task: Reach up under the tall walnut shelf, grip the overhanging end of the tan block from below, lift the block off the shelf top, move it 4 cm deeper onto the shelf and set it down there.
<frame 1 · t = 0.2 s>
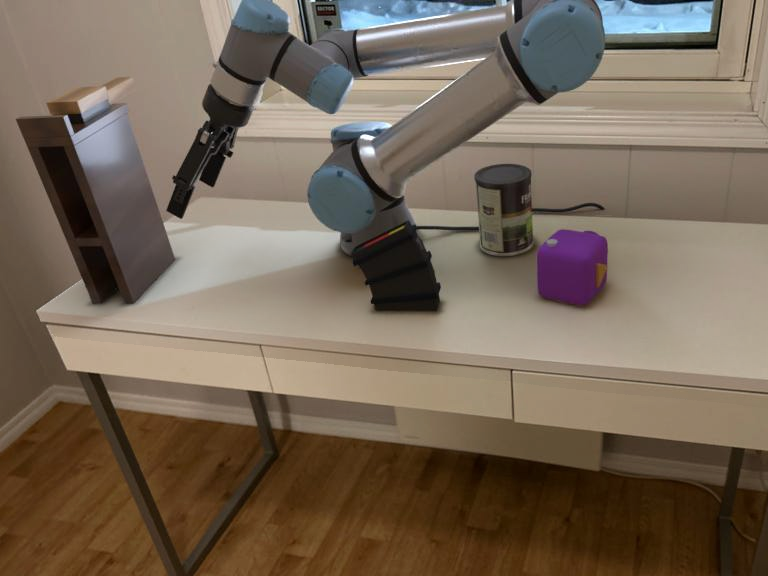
hand: (191, 198, 132), 15 cm above the table, tool tilted 35°, fingers open, 13 cm apart
coffee can: (506, 245, 143), on the table
toy camera: (575, 288, 127), on the table
tan block: (101, 106, 131), point 30 cm above the table, touching shelf
magazine: (401, 307, 126), on the table
shelf: (137, 279, 142), on the table
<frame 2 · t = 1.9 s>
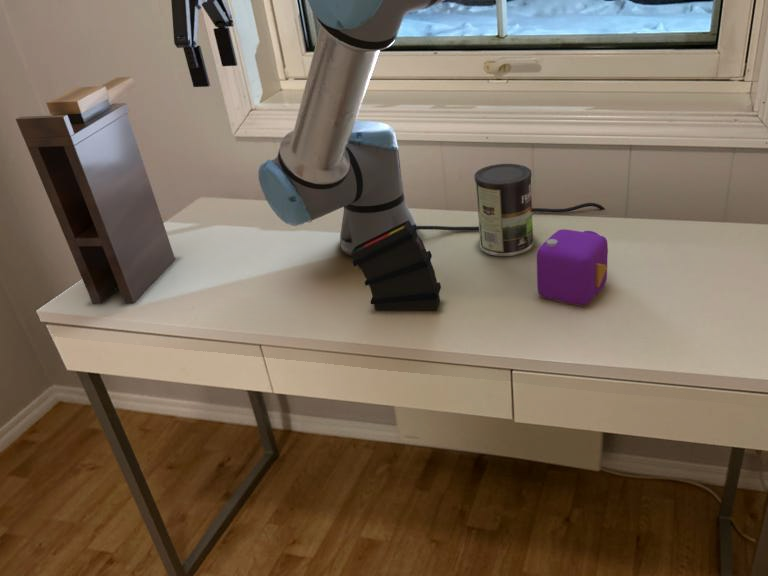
hand: (216, 75, 135), 32 cm above the table, tool pointing down, fingers open, 13 cm apart
nothing on the table moved.
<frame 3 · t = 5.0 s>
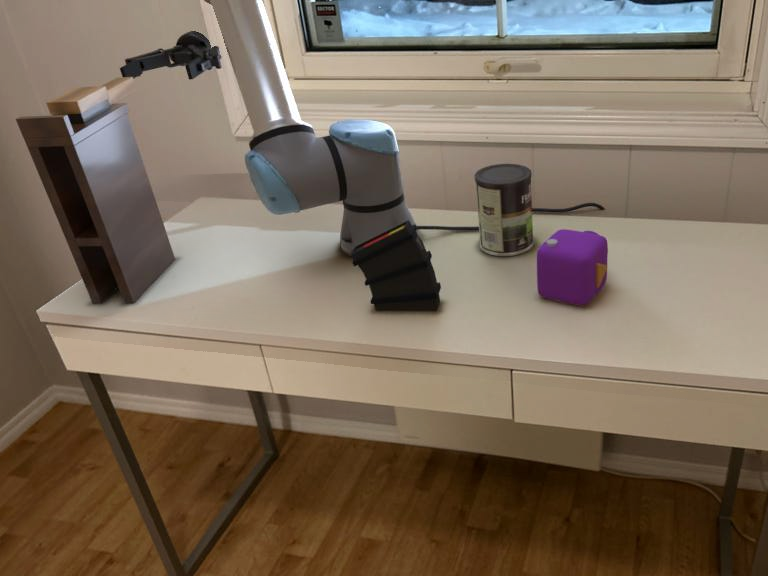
hand: (155, 73, 148), 30 cm above the table, tool horizontal, fingers open, 13 cm apart
nothing on the table moved.
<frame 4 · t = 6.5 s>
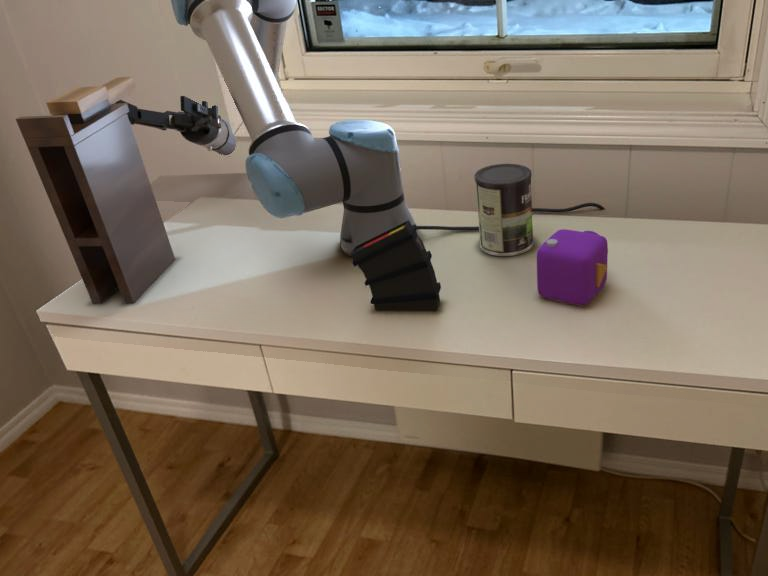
hand: (149, 104, 145), 26 cm above the table, tool pointing upward, fingers open, 13 cm apart
nothing on the table moved.
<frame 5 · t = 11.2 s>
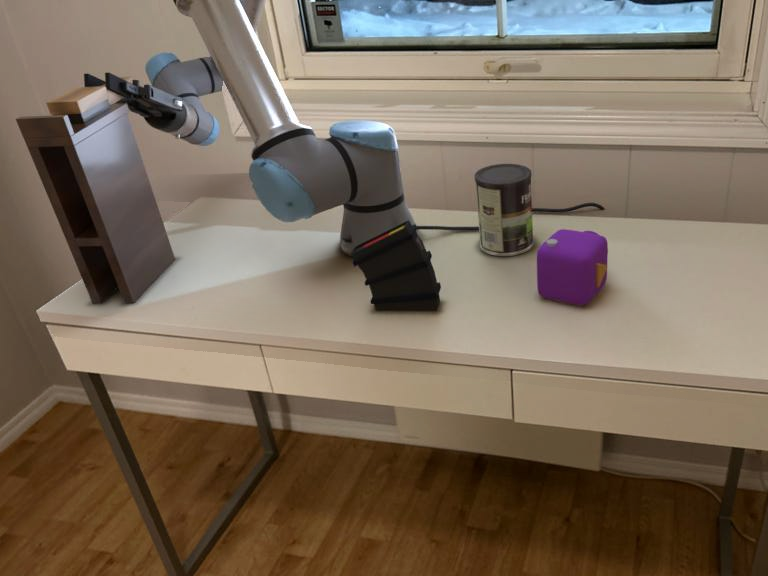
hand: (97, 81, 130), 34 cm above the table, tool pointing upward, fingers closed on tan block, 3 cm apart
tan block: (101, 106, 131), point 30 cm above the table, touching gripper, shelf
everything else where it was.
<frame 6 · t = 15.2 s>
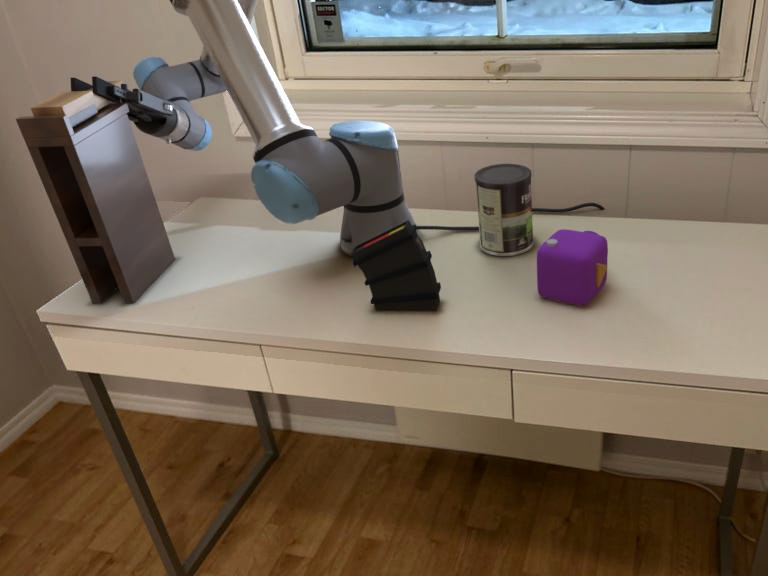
hand: (83, 85, 126), 34 cm above the table, tool pointing upward, fingers closed on tan block, 3 cm apart
tan block: (88, 111, 127), point 30 cm above the table, touching gripper
everything else where it was.
when the fingers open (35 cm above the table, at t = 17.1 s): tan block stays where it is, resting on shelf.
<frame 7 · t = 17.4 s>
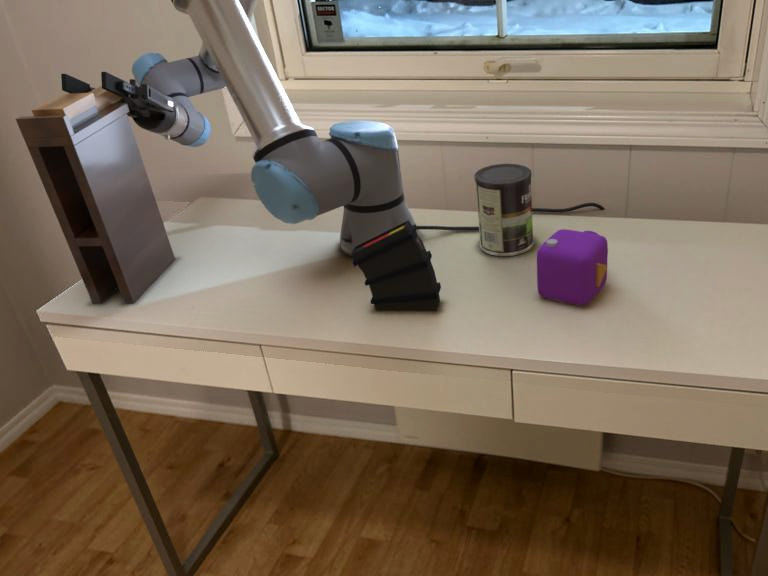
hand: (83, 81, 126), 35 cm above the table, tool pointing upward, fingers open, 6 cm apart
tan block: (89, 113, 128), point 30 cm above the table, touching shelf
everything else where it was.
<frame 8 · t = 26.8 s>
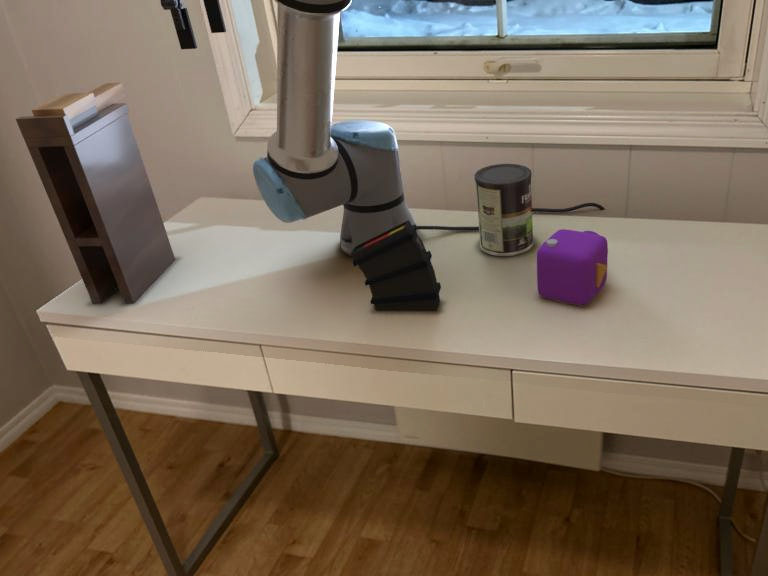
hand: (204, 40, 139), 37 cm above the table, tool pointing down, fingers open, 13 cm apart
nothing on the table moved.
at the end: tan block 0.2 cm from the target spot, point 30.0 cm above the table; tan block tilted 0°; the gripper is holding nothing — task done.
